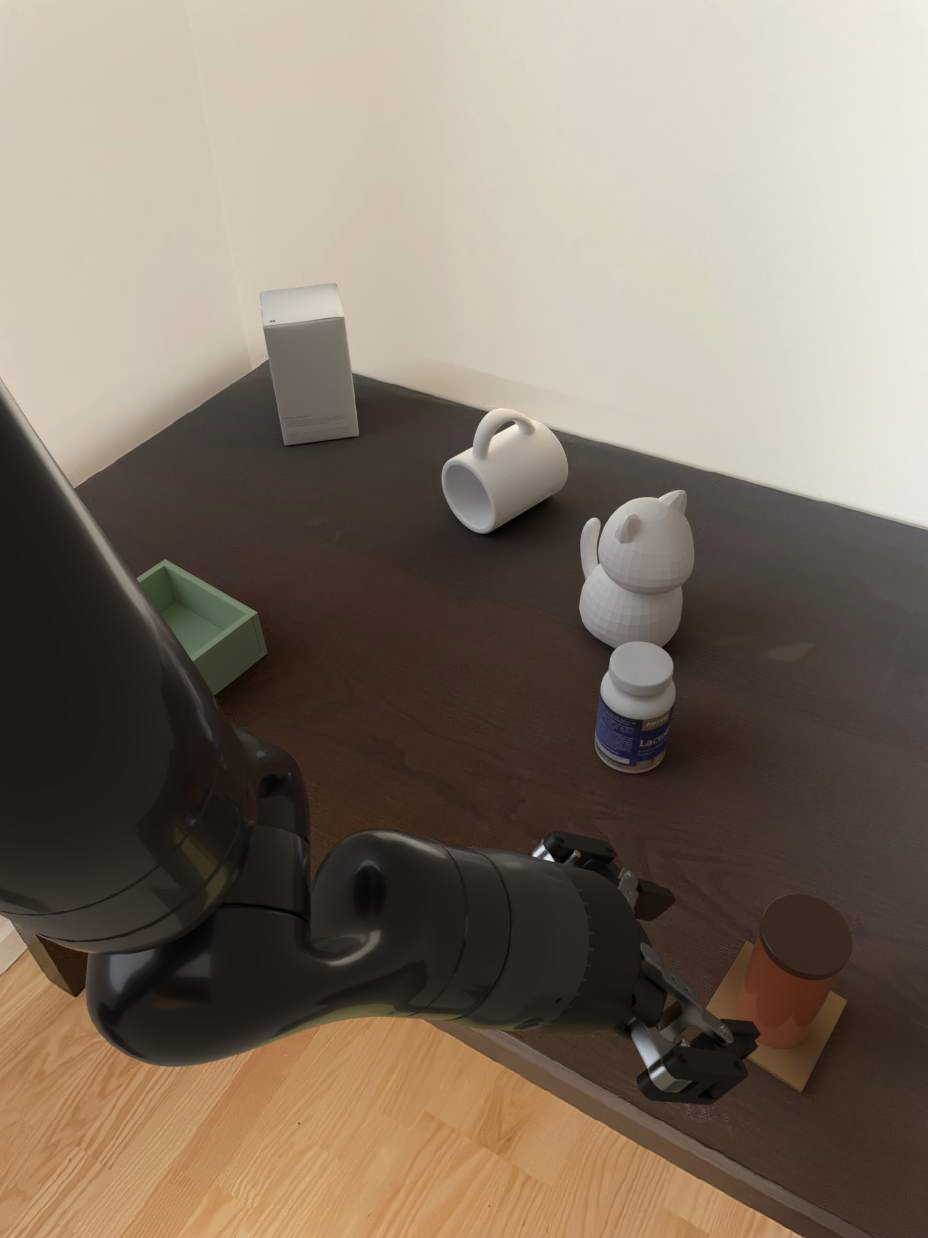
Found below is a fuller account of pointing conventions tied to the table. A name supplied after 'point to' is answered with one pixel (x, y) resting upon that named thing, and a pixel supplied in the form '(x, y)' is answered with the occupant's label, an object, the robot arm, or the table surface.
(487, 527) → the mug
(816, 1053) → the coaster
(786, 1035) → the spice jar
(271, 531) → the table surface
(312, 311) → the rectangular carton
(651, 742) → the pill bottle
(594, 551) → the cat figurine
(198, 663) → the crate
